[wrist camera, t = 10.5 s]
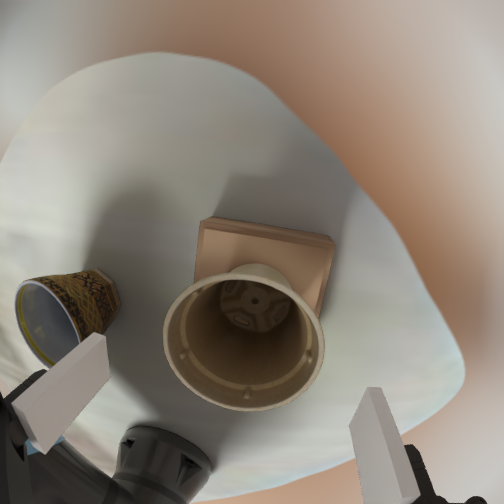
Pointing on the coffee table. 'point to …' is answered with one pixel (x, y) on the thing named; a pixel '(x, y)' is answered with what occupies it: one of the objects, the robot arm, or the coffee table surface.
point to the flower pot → (244, 340)
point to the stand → (266, 255)
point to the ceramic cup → (64, 311)
